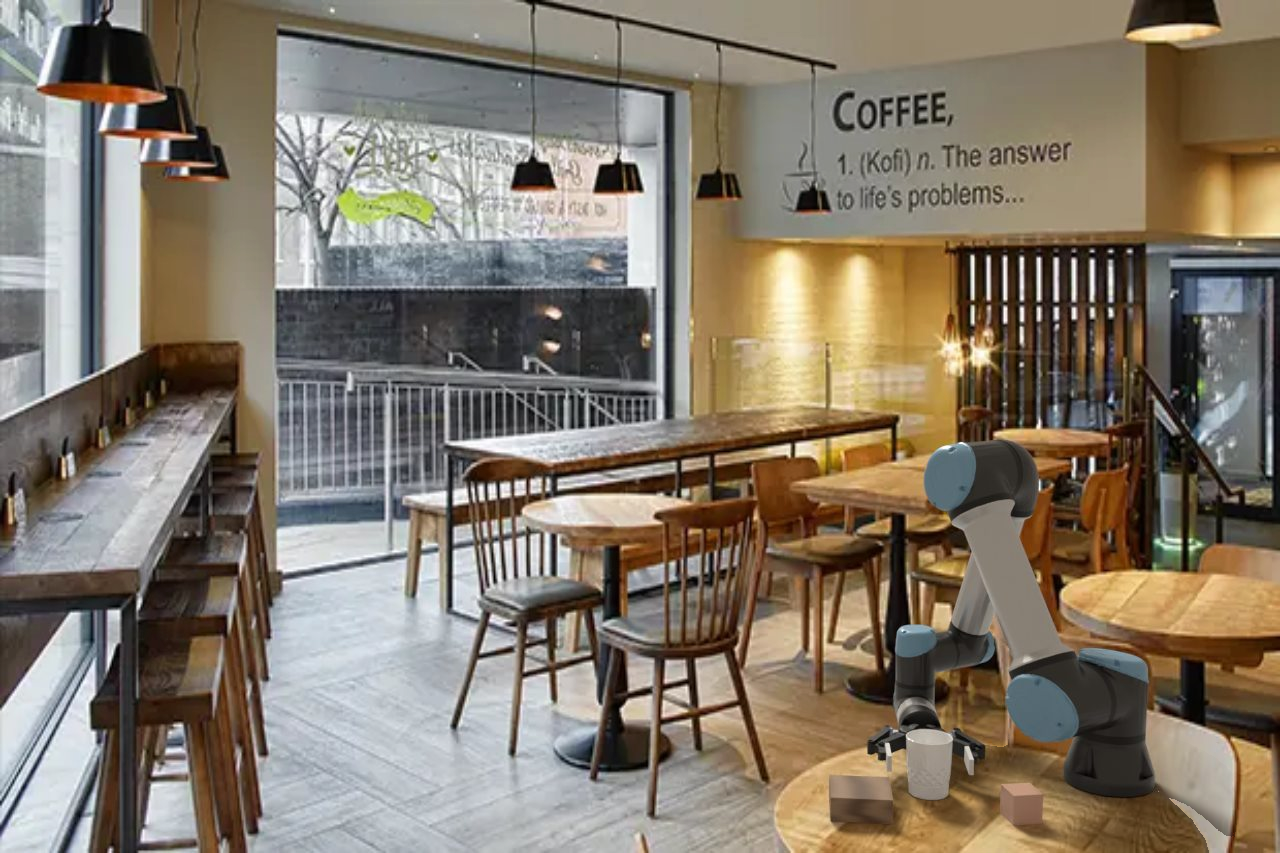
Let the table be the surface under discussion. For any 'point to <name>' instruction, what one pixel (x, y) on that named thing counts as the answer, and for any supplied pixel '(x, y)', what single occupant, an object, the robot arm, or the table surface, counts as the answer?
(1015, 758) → the table surface
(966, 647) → the robot arm
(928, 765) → the white cup
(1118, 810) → the table surface
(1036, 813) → the terracotta cube
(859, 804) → the walnut block
